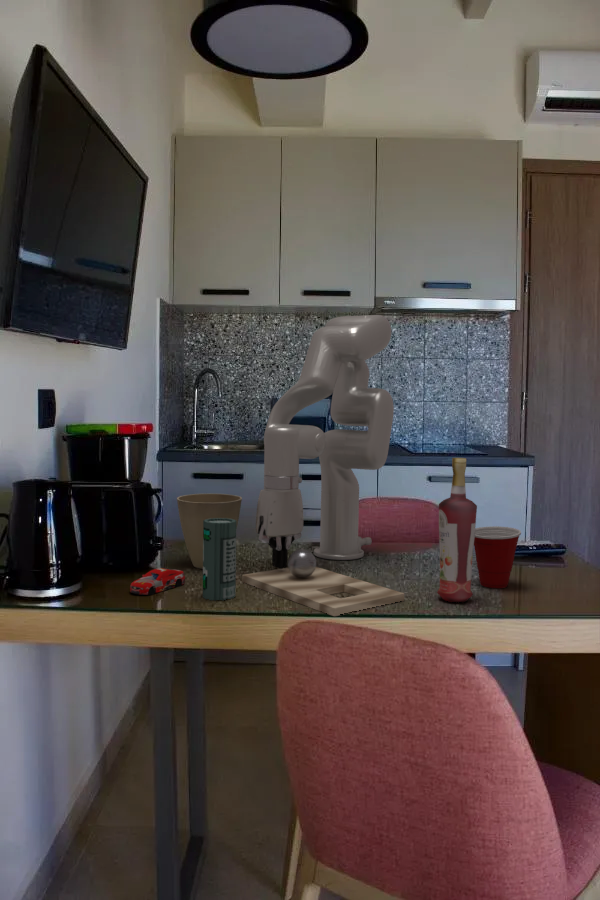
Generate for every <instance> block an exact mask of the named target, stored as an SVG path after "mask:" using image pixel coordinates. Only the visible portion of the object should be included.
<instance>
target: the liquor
mask: <svg viewBox="0 0 600 900" xmlns="http://www.w3.org/2000/svg"><path fill="white" fill-rule="evenodd" d="M451 464H452V465H451V467H452V468H451V469H452V480H451V489H450V495H449V497H448V498H445V499H442V501H441V502H439V503H438V536H439V537H438V541H439V542H438V543H439V588H438V590H437V591H436V593H437V594H438V596H440V598H441V599H442V600H444V601H445V602H447V601H448V602H449V603H452V602H456V603H455V604H460V603H459V602H462V603H465V602H467V601H469V599H470V598H471V597H473V592H472V589H471V588H472V572H473V571H472V570H473V569H472V568H473V557H474V555H473V554H474V548H475V547H474V538H475V528H476V525H477V514H478V513H477V509H478V505H477V504H476V503H475V502H474V501H473V500H471V499H468V498H467V494H466V493H467V489H466V470H467V469H466V468H467V458H465V457H452V461H451ZM457 602H458V603H457Z"/></svg>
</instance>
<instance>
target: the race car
mask: <svg viewBox="0 0 600 900" xmlns="http://www.w3.org/2000/svg"><path fill="white" fill-rule="evenodd" d="M141 576H142V577H140V578H137V579H135V580H133V582H131V583H130V586H129V592H130V593H132V594H133V595H134V594H135V595H142V596H143V595H146V596H153V595H155V594H157V593H161V592H163V591H168V590H171V589H173V588H178V587H179V588H180V587H181V586H183V585H184V584H185V582H186V576H185V572H184V570H180V569H174V568H173V569H172V568H167V567H159V568H154V569H151V570H149V571H148V572H146V573H145V574H141Z"/></svg>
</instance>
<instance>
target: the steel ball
mask: <svg viewBox="0 0 600 900" xmlns="http://www.w3.org/2000/svg"><path fill="white" fill-rule="evenodd" d="M316 567H317V559H316V557H315V555H314V553H312V552H311V551H309V550H307V549H301V548H300V549H297V550H294V551H293V552H292V553H291V554H290V555H289V557H288V561H287V568H289V571H290V572H291V574H292V575H294V576H295V577H297V578H306V577H309V576H310V575H312V574H313V572H314V571H315V568H316Z"/></svg>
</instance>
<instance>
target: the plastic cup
mask: <svg viewBox="0 0 600 900" xmlns="http://www.w3.org/2000/svg"><path fill="white" fill-rule="evenodd" d="M521 534H522V531H521V530H520V529H518V528H514V527H508V526H497V525H496V526H495V525H494V526H481V527H475V538H474V547H473V548H474V554H475V560H476V567H477V568H476V569H477V572H478V579H479V585H481V586H483V587H484V588H488V589H489V588H491V589H504V588H507V587H508V584H509V582H510V578H511V572H512V569H513V566H514V560H515V555H516V550H517V546H518V542H519V538H520V536H521Z"/></svg>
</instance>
